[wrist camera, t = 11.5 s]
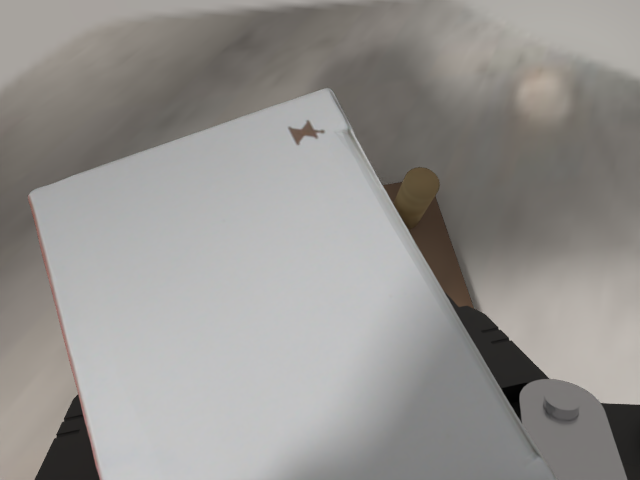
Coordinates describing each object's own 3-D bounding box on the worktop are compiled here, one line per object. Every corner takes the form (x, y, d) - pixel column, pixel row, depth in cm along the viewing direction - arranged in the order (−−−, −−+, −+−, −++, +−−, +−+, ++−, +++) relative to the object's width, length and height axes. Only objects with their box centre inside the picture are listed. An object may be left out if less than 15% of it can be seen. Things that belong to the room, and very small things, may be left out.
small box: (185, 317, 17) (12, 178, 7) (317, 261, 18) (328, 70, 8) (262, 541, 14) (160, 825, 4) (413, 460, 15) (607, 541, 5)
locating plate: (96, 698, 14) (22, 800, 10) (89, 244, 20) (40, 204, 16) (550, 567, 16) (628, 613, 12) (423, 188, 22) (449, 140, 18)
